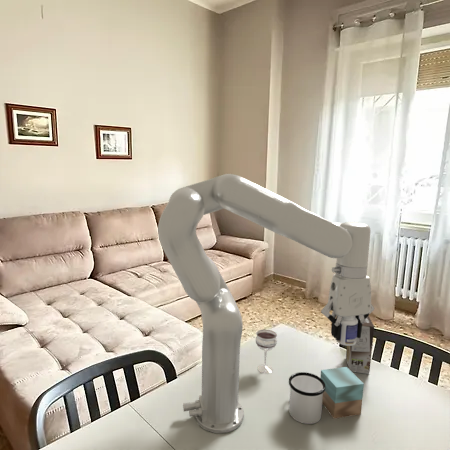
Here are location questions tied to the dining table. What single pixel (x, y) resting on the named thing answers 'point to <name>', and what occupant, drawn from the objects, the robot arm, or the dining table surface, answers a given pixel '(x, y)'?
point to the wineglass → (266, 346)
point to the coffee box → (361, 350)
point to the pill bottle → (348, 330)
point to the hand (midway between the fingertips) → (345, 336)
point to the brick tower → (342, 392)
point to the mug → (306, 397)
